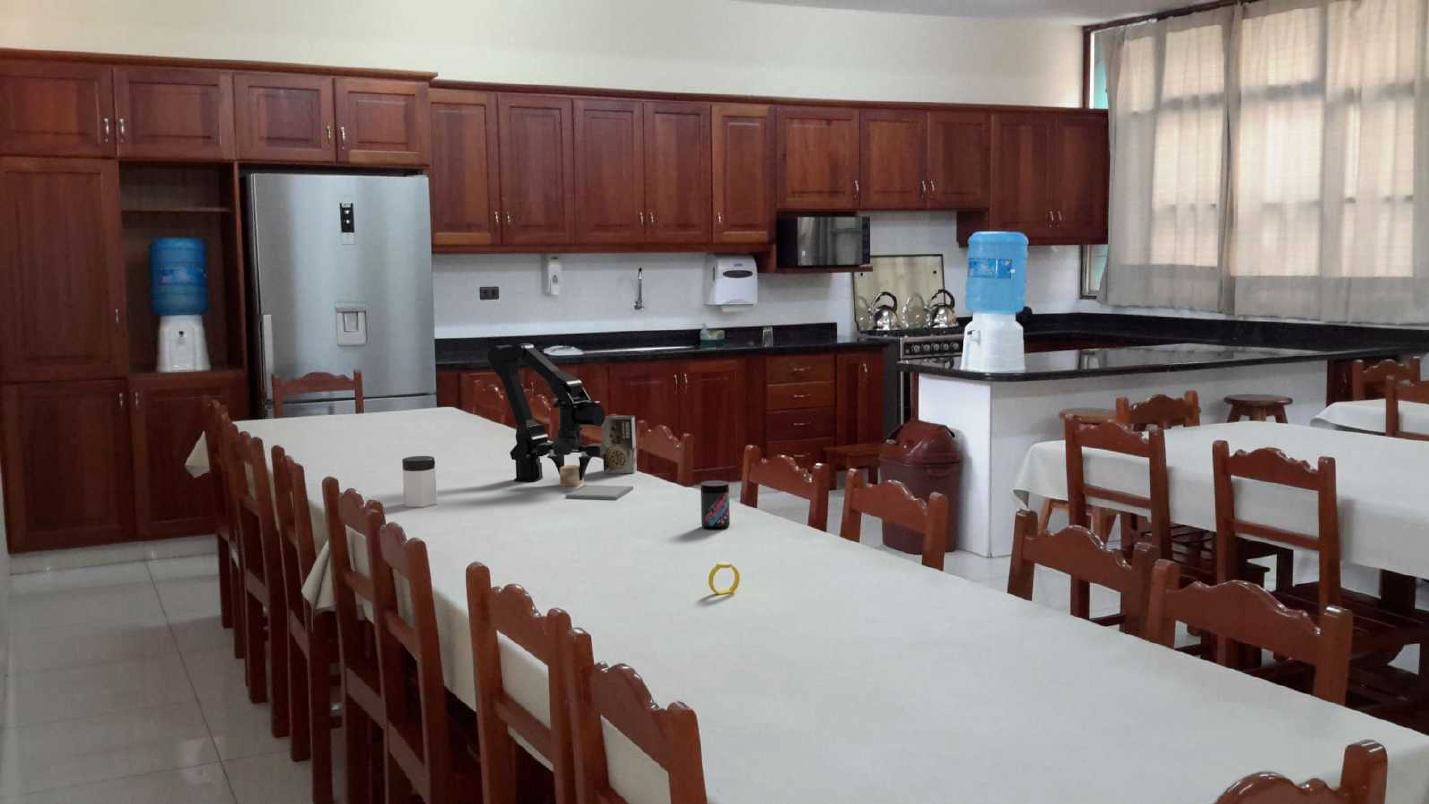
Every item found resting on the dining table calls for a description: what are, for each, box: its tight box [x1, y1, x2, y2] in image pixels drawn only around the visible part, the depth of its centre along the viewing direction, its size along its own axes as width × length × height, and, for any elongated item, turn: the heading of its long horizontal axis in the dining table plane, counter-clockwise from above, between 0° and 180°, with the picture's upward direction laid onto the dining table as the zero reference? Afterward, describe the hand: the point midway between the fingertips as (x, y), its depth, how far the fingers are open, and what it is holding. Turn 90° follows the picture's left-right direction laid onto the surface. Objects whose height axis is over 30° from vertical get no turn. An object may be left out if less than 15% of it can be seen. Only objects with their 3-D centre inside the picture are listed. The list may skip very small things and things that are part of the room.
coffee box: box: [601, 415, 638, 474], centre depth 363 cm, size 9×6×16 cm
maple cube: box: [559, 464, 585, 488], centre depth 345 cm, size 5×5×5 cm
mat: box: [565, 484, 634, 501], centre depth 332 cm, size 14×14×1 cm
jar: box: [401, 455, 438, 508], centre depth 323 cm, size 9×8×12 cm
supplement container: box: [699, 480, 731, 531], centre depth 290 cm, size 7×7×10 cm
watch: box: [708, 560, 741, 596], centre depth 236 cm, size 6×3×6 cm, turn 117°
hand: (571, 480), depth 346 cm, fingers closed on maple cube, 5 cm apart
